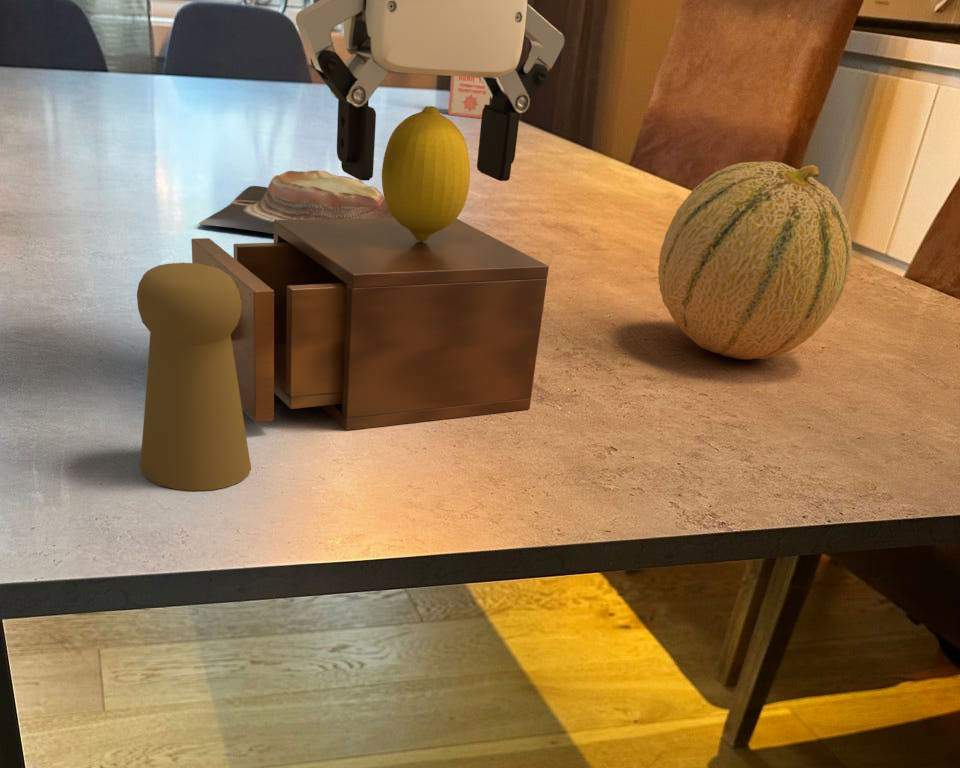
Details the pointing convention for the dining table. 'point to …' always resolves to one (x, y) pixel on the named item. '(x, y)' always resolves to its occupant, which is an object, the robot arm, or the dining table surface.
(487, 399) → the cabinet
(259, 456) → the dining table surface
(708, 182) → the cantaloupe
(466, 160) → the lemon
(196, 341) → the cork
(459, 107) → the tea box
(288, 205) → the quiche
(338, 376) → the drawer
